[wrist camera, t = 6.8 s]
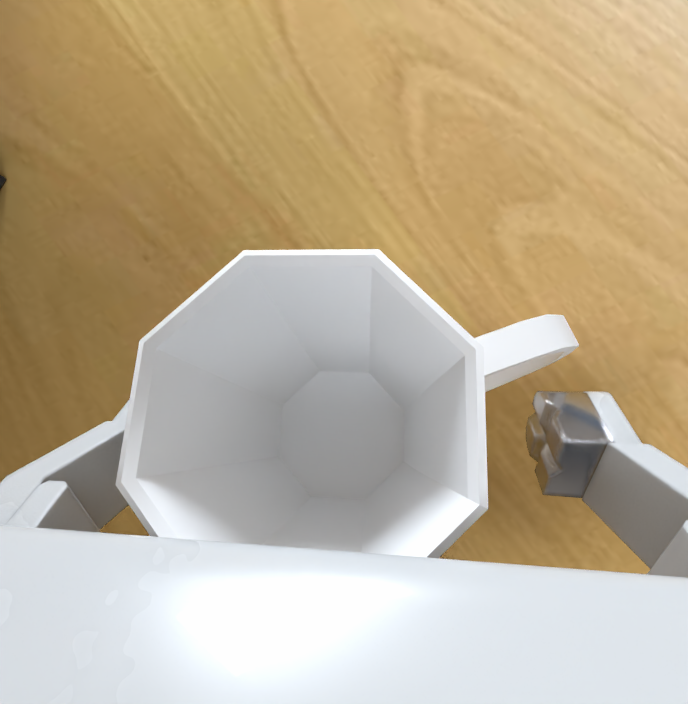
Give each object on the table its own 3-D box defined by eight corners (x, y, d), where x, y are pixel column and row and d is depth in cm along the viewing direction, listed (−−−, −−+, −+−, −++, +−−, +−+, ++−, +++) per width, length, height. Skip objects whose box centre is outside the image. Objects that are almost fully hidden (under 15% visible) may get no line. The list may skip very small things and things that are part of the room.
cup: (230, 379, 16) (78, 311, 8) (473, 287, 16) (552, 128, 8) (284, 567, 14) (155, 706, 6) (559, 467, 14) (768, 486, 6)
